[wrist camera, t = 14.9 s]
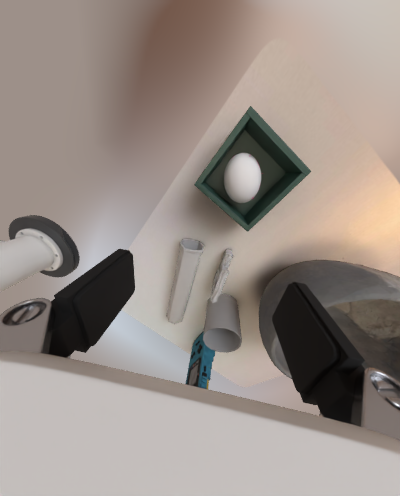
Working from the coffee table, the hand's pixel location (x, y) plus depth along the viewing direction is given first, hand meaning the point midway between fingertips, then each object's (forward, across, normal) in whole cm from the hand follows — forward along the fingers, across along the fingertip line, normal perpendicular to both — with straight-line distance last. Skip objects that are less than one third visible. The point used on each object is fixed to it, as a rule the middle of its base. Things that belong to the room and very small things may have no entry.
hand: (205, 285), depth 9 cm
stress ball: (+24, -4, -6) cm, 25 cm away
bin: (+24, -4, -6) cm, 25 cm away
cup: (+24, -6, +26) cm, 36 cm away
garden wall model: (+24, -4, +14) cm, 29 cm away
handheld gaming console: (+25, -4, +41) cm, 48 cm away
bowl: (+24, -24, +15) cm, 37 cm away
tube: (+25, +5, +20) cm, 32 cm away
